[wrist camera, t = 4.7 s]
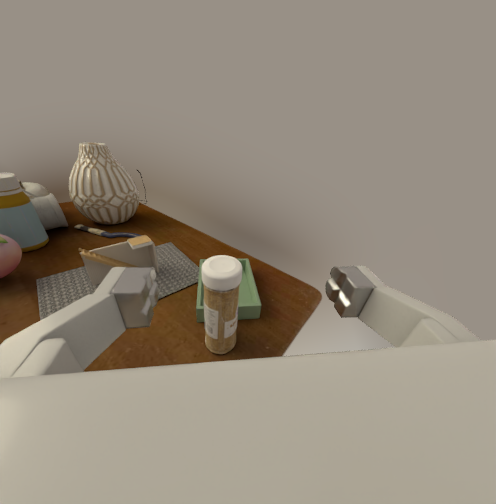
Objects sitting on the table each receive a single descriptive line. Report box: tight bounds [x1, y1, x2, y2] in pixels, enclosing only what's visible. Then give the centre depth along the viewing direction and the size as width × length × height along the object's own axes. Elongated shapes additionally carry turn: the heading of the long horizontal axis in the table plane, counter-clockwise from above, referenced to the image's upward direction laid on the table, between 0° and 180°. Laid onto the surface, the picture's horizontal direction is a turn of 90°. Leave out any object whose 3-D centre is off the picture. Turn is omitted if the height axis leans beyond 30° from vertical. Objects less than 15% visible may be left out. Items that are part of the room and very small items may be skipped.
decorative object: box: [19, 181, 50, 198], centre depth 56 cm, size 9×9×10 cm
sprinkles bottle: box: [202, 255, 242, 354], centre depth 26 cm, size 5×5×14 cm
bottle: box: [0, 173, 49, 252], centre depth 42 cm, size 7×7×15 cm
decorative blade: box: [74, 224, 142, 238], centre depth 53 cm, size 21×1×5 cm
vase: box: [69, 143, 139, 224], centre depth 56 cm, size 16×16×20 cm
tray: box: [196, 259, 261, 322], centre depth 37 cm, size 13×10×3 cm
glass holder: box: [22, 189, 68, 230], centre depth 47 cm, size 9×14×15 cm
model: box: [79, 235, 160, 286], centre depth 37 cm, size 3×11×8 cm, turn 133°
